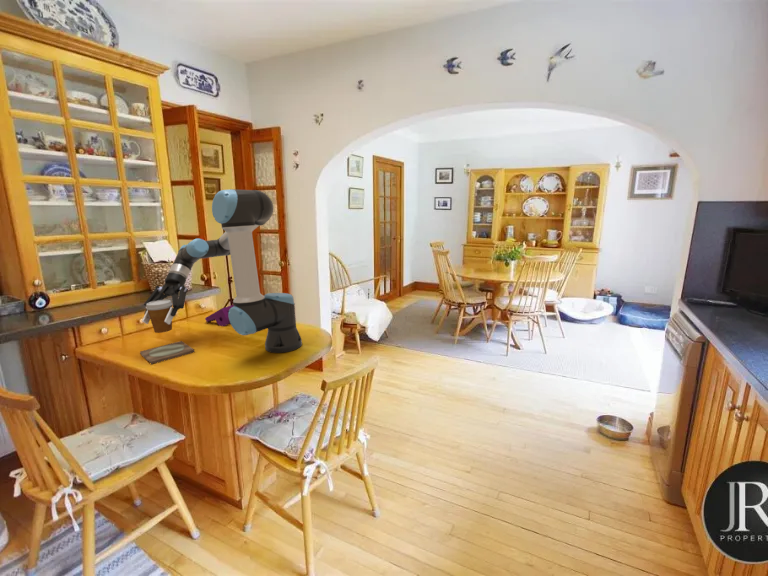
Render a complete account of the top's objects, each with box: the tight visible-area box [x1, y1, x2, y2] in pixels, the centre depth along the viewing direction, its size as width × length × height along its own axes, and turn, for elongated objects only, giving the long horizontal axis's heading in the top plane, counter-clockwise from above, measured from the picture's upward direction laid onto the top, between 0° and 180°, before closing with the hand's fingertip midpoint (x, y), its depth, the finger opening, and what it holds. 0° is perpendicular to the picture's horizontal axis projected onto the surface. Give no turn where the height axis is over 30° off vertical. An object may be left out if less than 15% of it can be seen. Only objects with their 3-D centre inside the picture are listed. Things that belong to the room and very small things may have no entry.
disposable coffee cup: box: [145, 299, 173, 334], centre depth 151 cm, size 10×10×12 cm
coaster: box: [139, 340, 195, 365], centre depth 154 cm, size 16×16×1 cm
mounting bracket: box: [204, 304, 234, 327], centre depth 195 cm, size 9×8×18 cm
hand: (155, 322), depth 148 cm, fingers closed on disposable coffee cup, 9 cm apart
